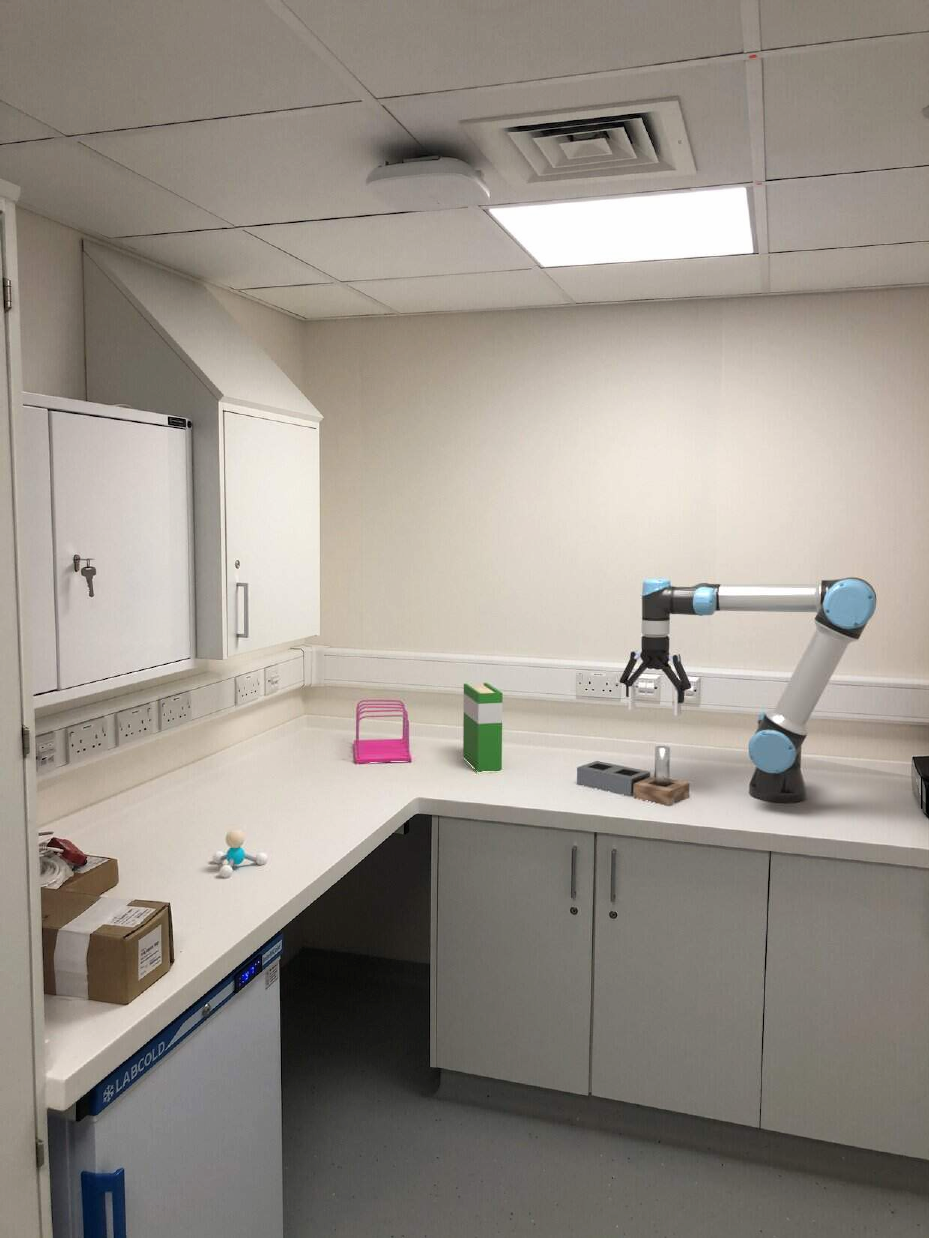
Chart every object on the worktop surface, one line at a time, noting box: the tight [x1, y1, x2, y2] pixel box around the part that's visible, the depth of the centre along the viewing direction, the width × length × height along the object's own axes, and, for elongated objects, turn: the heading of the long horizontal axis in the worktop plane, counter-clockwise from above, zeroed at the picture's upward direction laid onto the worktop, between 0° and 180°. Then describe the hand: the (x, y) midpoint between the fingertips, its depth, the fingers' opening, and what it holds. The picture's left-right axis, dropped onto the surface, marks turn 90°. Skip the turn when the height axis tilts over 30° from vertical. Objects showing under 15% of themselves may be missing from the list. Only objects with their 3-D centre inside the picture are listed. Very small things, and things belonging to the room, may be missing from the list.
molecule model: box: [212, 829, 269, 879], centre depth 212 cm, size 12×12×9 cm
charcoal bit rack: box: [576, 760, 651, 798], centre depth 276 cm, size 18×10×5 cm, turn 49°
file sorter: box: [353, 699, 412, 764], centre depth 312 cm, size 17×25×16 cm
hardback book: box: [462, 682, 504, 772], centre depth 298 cm, size 18×7×24 cm, turn 14°
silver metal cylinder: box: [653, 745, 671, 787], centre depth 265 cm, size 4×4×14 cm
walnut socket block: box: [632, 775, 691, 807], centre depth 266 cm, size 11×11×4 cm
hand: (654, 712), depth 268 cm, fingers open, 13 cm apart
